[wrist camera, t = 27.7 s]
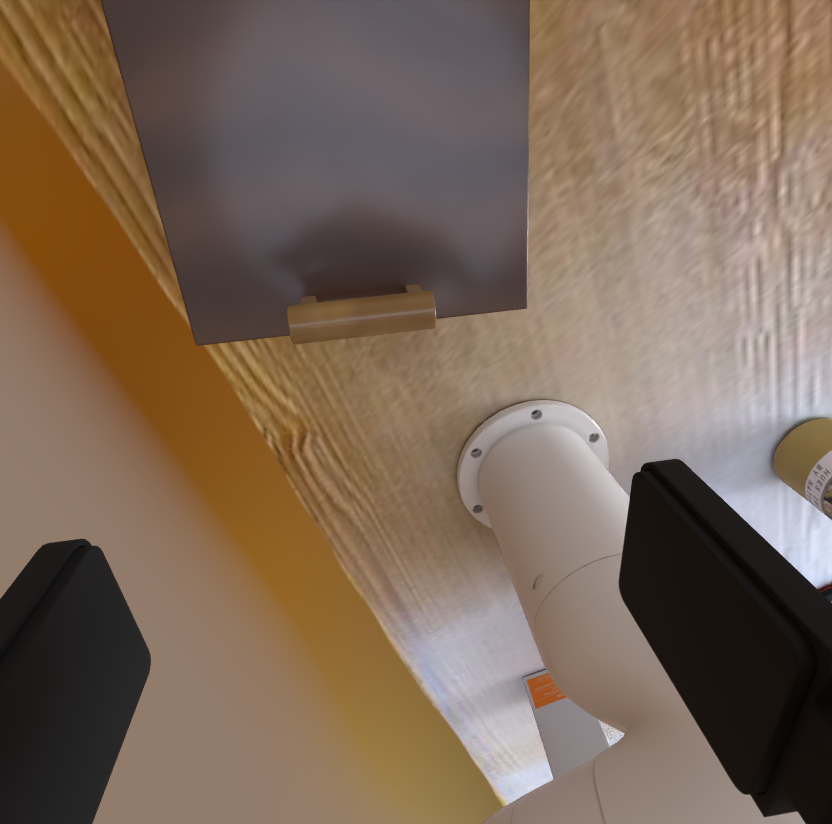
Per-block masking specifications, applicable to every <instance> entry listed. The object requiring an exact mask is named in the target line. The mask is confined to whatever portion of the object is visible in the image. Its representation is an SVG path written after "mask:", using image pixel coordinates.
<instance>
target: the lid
mask: <svg viewBox="0 0 832 824" xmlns="http://www.w3.org/2000/svg"><path fill="white" fill-rule="evenodd" d="M101 4H102V8H103V11H104V15H105V18H106V22H107V26H108V29H109V33H110V37H111V40H112V44H113V47H114V51H115V55H116V58H117V62H118V65H119V69H120V73H121V76H122V80H123V83H124V87H125V91H126V94H127V98H128V102H129V105H130V109H131V112H132V116H133V120H134V123H135V127H136V130H137V134H138V138H139V141H140V145H141V149H142V152H143V156H144V159H145V163H146V167H147V170H148V174H149V177H150V181H151V185H152V188H153V192H154V196H155V199H156V203H157V206H158V210H159V214H160V217H161V221H162V224H163V228H164V232H165V235H166V239H167V242H168V246H169V250H170V253H171V257H172V261H173V264H174V268H175V271H176V275H177V279H178V282H179V286H180V289H181V293H182V297H183V300H184V304H185V308H186V311H187V315H188V318H189V322H190V326H191V329H192V333H193V336H194V340H195V343H196V345H197V346H199V345H208V344H217V343H226V342H235V341H244V340H253V339H261V338H270V337H279V336H288V335H290V337H291V340H292V342H293V344H303V343H312V342H321V341H329V340H338V339H347V338H356V337H364V336H373V335H382V334H391V333H399V332H408V331H417V330H426V329H434V328H436V319H439V318H447V317H456V316H465V315H474V314H483V313H492V312H500V311H509V310H518V309H526V308H527V307H528V177H529V40H530V0H101Z"/></svg>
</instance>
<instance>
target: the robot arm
mask: <svg viewBox="0 0 832 824" xmlns="http://www.w3.org/2000/svg"><path fill="white" fill-rule="evenodd" d="M534 410H535V411H534ZM533 411H534V412H533ZM473 449H474V450H473ZM608 466H609V450H608V446H607V441H606V439H605V437H604V435H603V433H602V431H601V429H600V428H599V427H598V426H597V424H596V423H595V422H594V421H593V420H592V419H591V418H590V417H589V416H588V415H587V414H586V413H585V412H583V411H582V410H580V409H578V408H576V407H574V406H573V405H570V404H566V403H563V402H560V401H552V400H536V401H527V402H524V403H520V404H516V405H513V406H511V407H508V408H506V409H504V410H501V411H499V412H498V413H496V414H495V415H493V416H492V417H490V418H489V419H487V420H486V421H485V422H484V423H483V424H482V425H481V426H479V427H478V428H477V429H476V430H475V432H474V433H473V434H472V435H471V437H470V438H469V439H468V441H467V442H466V444H465V446H464V448H463V450H462V452H461V454H460V458H459V462H458V465H457V484H458V490H459V493H460V496H461V499H462V501H463V503H464V505H465V507H466V508H467V510H468V512H469V513H470V514H471V515H472V516H473V517H474V518H475V519H476V520H477V521H479V522H480V523H482V524H483V525H485V526H486V527H489V528H491V529H493V531H494V533H495V536H496V539H497V541H498V544H499V547H500V549H501V552H502V555H503V557H504V560H505V563H506V565H507V568H508V571H509V573H510V576H511V579H512V581H513V584H514V587H515V589H516V592H517V595H518V597H519V600H520V603H521V605H522V608H523V611H524V613H525V616H526V619H527V621H528V624H529V627H530V629H531V632H532V635H533V637H534V640H535V642H536V645H537V648H538V650H539V653H540V655H541V658H542V661H543V663H544V665H545V667H546V669H547V671H548V673H549V675H550V676H551V678H552V679H553V681H554V682H555V684H556V685H557V686H558V687H559V689H560V690H561V691H562V692H563V693H564V694H565V695H566V696H567V697H568V698H569V699H570V700H571V701H572V702H574V703H575V704H576V705H577V706H579V707H580V708H581V709H583V710H584V711H586V712H587V713H589V714H590V715H592V716H594V717H595V718H597V719H599V720H600V721H602V722H604V723H606V724H608V725H610V726H611V727H613V728H615V729H617V730H619V731H621V732H623V733H625V735H624V737H622V738H621V739H620V740H619V741H618V742H617V743H615V744H614V745H612V746H610V747H609V748H607V749H606V750H604V751H602V752H601V753H599V754H597V755H596V757H595V758H593V759H591V760H589V761H587V762H585V763H583V764H582V765H580V766H578V767H576V768H574V769H572V770H570V771H569V772H567V773H565V774H563V775H561V776H559V777H557V778H555V779H554V780H552V781H550V782H548V783H546V784H544V785H542V786H541V787H539V788H537V789H535V790H533V791H531V792H529V793H527V794H526V795H524V796H522V797H520V798H519V799H517V800H516V801H514V802H512V803H510V804H509V805H507V806H505V807H504V808H502V809H501V810H499V811H497V812H496V813H494V814H493V815H491V816H490V817H489V818H488V819H486V820H485V821H484V822H483V823H482V824H832V603H831V602H830V601H829V600H828V599H827V598H826V597H825V596H824V595H823V594H822V593H821V592H820V591H819V590H818V589H817V588H815V587H814V586H813V585H812V584H811V583H810V582H809V581H808V580H807V579H806V578H805V577H804V576H803V575H802V574H801V573H800V572H799V571H798V570H797V569H795V568H794V567H793V566H792V565H791V564H790V563H789V562H788V561H787V560H786V559H785V558H784V557H783V556H782V555H781V554H780V553H779V552H778V551H776V550H775V549H774V548H773V547H772V546H771V545H770V544H769V543H768V542H767V541H766V540H765V539H764V538H763V537H762V536H761V535H760V534H759V533H757V532H756V531H755V530H754V529H753V528H752V527H751V526H750V525H749V524H748V523H747V522H746V521H745V520H744V519H743V518H742V517H741V516H740V515H739V514H737V513H736V512H735V511H734V510H733V509H732V508H731V507H730V506H729V505H728V504H727V503H726V502H725V501H724V500H723V499H722V498H721V497H720V496H718V495H717V494H716V493H715V492H714V491H713V490H712V489H711V488H710V487H709V486H708V485H707V484H706V483H705V482H704V481H703V480H702V479H701V478H700V477H698V476H697V475H696V474H695V473H694V472H693V471H692V470H691V469H690V468H689V467H688V466H687V465H686V464H685V463H684V462H682V461H681V460H679V459H671V460H664V461H656V462H649V463H645V464H644V465H643V466H642V468H641V471H640V472H637V473H635V474H634V475H633V479H632V485H631V492H630V498H629V496H628V495H627V494H626V493H625V491H624V490H623V489H622V488H621V486H620V485H619V484H618V483H617V481H616V480H615V479H614V478H613V476H612V475H611V474H610V473H609V471H608ZM150 665H151V657H150V652H149V649H148V647H147V645H146V643H145V641H144V639H143V637H142V634H141V632H140V630H139V628H138V626H137V624H136V622H135V620H134V618H133V615H132V613H131V611H130V609H129V607H128V605H127V602H126V600H125V598H124V596H123V594H122V592H121V590H120V588H119V585H118V583H117V581H116V579H115V577H114V575H113V573H112V571H111V568H110V566H109V564H108V562H107V560H106V558H105V556H104V553H103V552H102V550H101V549H100V548H99V547H98V546H92V545H91V544H90V543H89V542H88V541H87V540H86V539H76V540H69V541H61V542H54V543H48V544H45V545H43V546H42V547H41V548H40V549H39V550H38V551H37V552H36V553H35V555H34V556H33V557H32V559H31V560H30V561H29V563H28V564H27V565H26V566H25V568H24V569H23V570H22V572H21V573H20V574H19V575H18V577H17V578H16V580H15V581H14V582H13V583H12V585H11V586H10V587H9V589H8V590H7V591H6V592H5V594H4V595H3V596H2V598H1V599H0V824H92V823H93V820H94V818H95V815H96V812H97V810H98V807H99V804H100V802H101V799H102V796H103V794H104V791H105V788H106V786H107V783H108V781H109V778H110V775H111V773H112V770H113V767H114V765H115V762H116V759H117V757H118V754H119V752H120V749H121V746H122V744H123V741H124V738H125V736H126V733H127V730H128V728H129V725H130V722H131V719H132V717H133V714H134V712H135V709H136V706H137V704H138V701H139V699H140V696H141V693H142V691H143V688H144V685H145V683H146V680H147V677H148V675H149V671H150Z"/></svg>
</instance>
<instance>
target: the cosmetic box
mask: <svg viewBox="0 0 832 824" xmlns="http://www.w3.org/2000/svg"><path fill="white" fill-rule="evenodd" d="M523 681H524V685H525V688H526V691H527V694H528V697H529V701H530V704H531V707H532V710H533V713H534V717H535V720H536V723H537V726H538V729H539V733H540V736H541V739H542V742H543V746H544V749H545V752H546V755H547V759H548V762H549V765H550V768H551V772H552V775H553V778H554V779H555V778H557V777H559V776H561V775H563V774H565V773H567V772H569V771H570V770H572V769H574V768H576V767H578V766H580V765H582V764H583V763H585V762H587V761H589V760H591V759H593V758H595V757H596V755H597V754H599V753H601V752H602V751H604V750H606V749H607V748H609V747H610V746H611V745H610V742H609V740H608V737H607V735H606V733H605V730H604V728H603V726H602V723H601V721H600V720H599V719H597V718H595V717H594V716H592V715H590V714H589V713H587V712H586V711H584V710H583V709H581V708H580V707H579V706H577V705H576V704H575V703H574V702H572V701H571V700H570V699H569V698H568V697H567V696H566V695H565V694H564V693H563V692H562V691H561V690H560V689H559V687H558V686H557V685H556V684H555V682H554V681H553V679H552V678H551V676H550V675H549V673H548V671H547V669H546V670H543V671H540V672H538V673H535V674H532V675H529V676H525V677H523Z"/></svg>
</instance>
